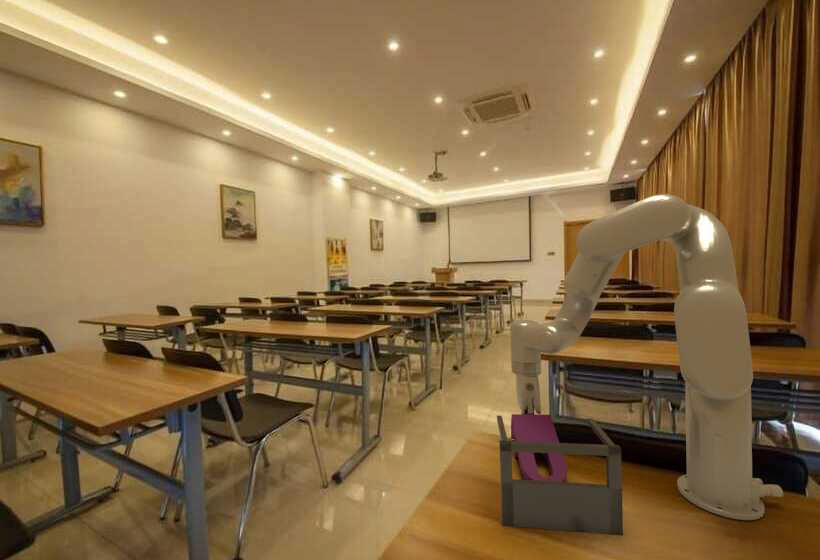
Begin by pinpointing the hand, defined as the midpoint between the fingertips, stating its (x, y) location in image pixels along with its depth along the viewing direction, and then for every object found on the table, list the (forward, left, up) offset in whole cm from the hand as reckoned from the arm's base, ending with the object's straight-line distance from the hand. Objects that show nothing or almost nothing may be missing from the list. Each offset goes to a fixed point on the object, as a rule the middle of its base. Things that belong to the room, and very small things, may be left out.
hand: (528, 434), depth 93 cm
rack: (0, +27, -1) cm, 27 cm away
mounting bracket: (0, +13, -2) cm, 13 cm away
